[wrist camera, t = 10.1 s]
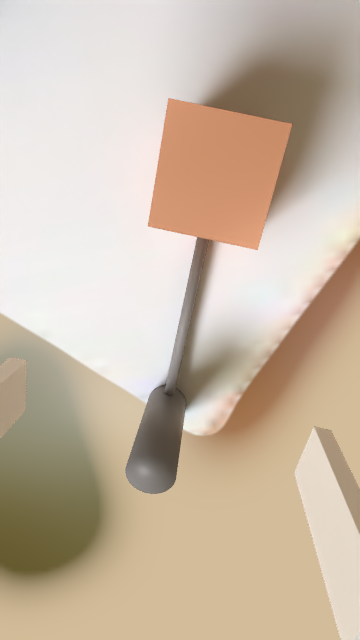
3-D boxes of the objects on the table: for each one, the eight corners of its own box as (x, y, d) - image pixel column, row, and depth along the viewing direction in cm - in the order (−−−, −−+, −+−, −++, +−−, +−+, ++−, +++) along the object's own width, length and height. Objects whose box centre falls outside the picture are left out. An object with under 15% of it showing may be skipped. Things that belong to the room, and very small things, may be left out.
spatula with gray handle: (180, 126, 22) (162, 83, 14) (271, 145, 21) (303, 112, 14) (130, 410, 29) (101, 482, 21) (197, 425, 29) (192, 503, 21)
